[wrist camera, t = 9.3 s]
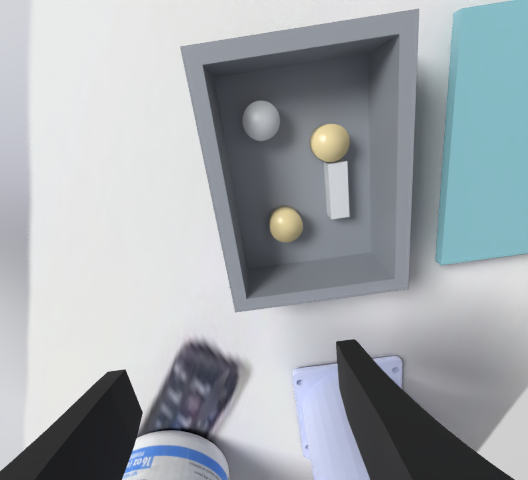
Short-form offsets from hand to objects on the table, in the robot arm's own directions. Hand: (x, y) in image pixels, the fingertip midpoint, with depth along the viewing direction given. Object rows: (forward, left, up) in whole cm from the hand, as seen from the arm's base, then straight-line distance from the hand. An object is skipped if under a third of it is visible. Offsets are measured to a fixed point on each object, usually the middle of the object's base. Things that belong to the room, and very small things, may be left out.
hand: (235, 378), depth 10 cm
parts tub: (+5, -4, -9) cm, 11 cm away
